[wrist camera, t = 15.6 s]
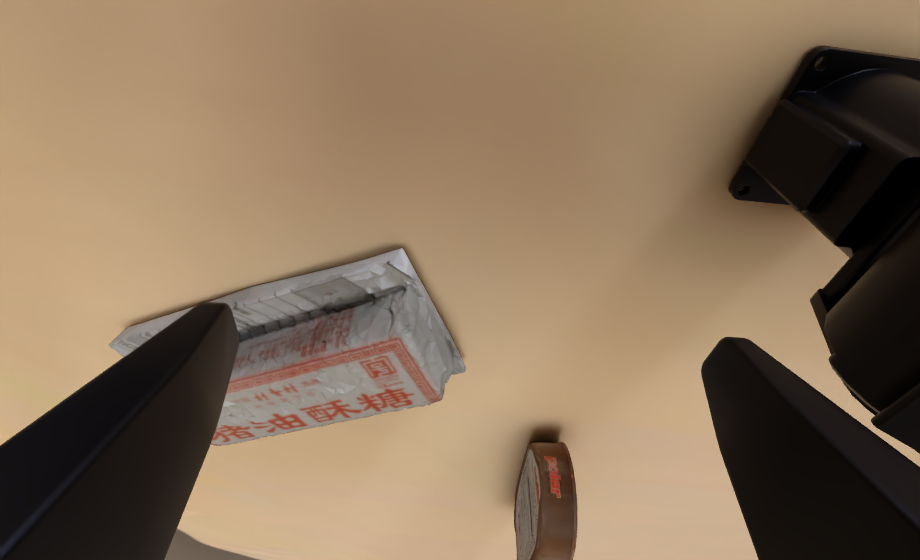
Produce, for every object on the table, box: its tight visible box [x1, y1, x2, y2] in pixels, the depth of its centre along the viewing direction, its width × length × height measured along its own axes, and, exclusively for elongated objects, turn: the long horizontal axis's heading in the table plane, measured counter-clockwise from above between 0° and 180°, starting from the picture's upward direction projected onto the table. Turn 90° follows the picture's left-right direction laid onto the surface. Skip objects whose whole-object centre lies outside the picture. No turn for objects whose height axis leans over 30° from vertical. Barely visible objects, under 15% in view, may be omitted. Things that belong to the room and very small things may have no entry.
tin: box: [514, 442, 577, 560], centre depth 36 cm, size 15×3×8 cm, turn 178°
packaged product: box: [109, 248, 466, 446], centre depth 26 cm, size 18×5×10 cm
